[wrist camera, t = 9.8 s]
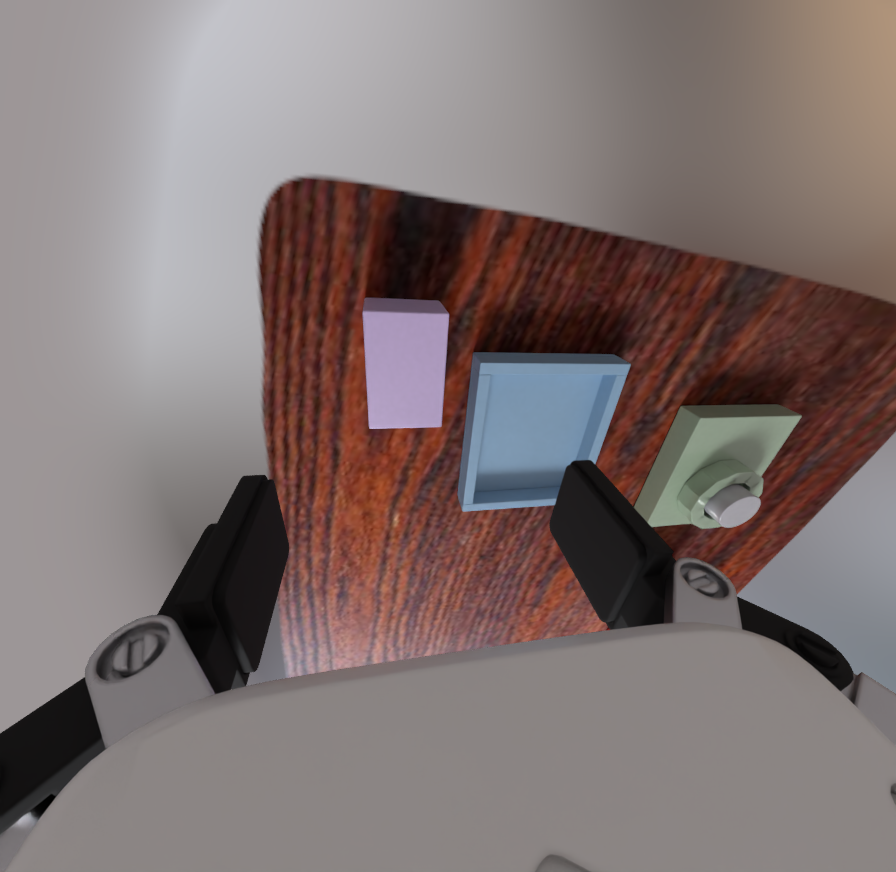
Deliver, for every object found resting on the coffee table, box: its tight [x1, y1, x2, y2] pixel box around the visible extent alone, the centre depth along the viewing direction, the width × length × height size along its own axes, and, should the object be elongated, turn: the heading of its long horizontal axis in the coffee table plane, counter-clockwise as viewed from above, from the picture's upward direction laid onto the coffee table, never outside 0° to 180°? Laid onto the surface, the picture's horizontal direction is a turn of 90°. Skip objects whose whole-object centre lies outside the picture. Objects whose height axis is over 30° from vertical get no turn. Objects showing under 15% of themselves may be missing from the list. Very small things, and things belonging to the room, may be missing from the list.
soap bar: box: [363, 298, 449, 429], centre depth 21 cm, size 7×4×4 cm, turn 176°
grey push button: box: [704, 484, 761, 528], centre depth 30 cm, size 4×4×2 cm
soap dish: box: [458, 352, 631, 511], centre depth 27 cm, size 13×11×2 cm
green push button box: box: [634, 404, 802, 529], centre depth 31 cm, size 12×10×4 cm
